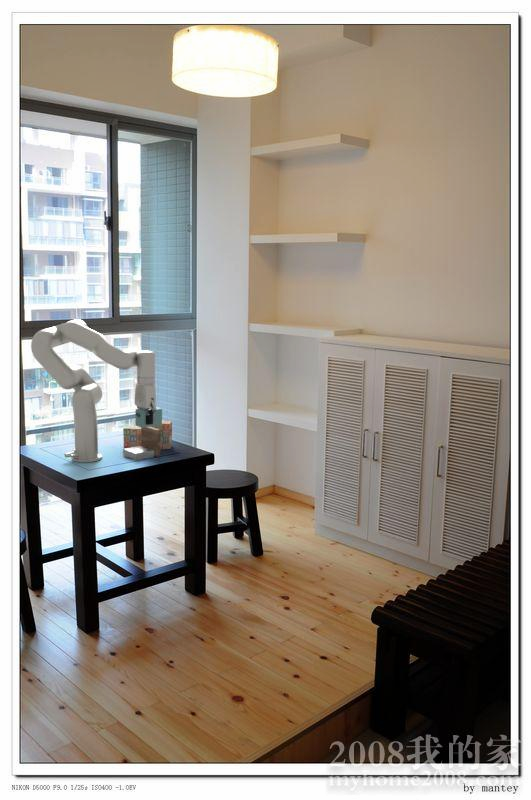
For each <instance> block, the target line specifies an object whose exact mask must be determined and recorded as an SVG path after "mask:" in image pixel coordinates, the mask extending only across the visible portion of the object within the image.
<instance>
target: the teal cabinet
mask: <svg viewBox="0 0 531 800" xmlns="http://www.w3.org/2000/svg"><path fill="white" fill-rule="evenodd" d="M149 408H150V407H149ZM156 408H157V409H156V410H155V412H154V415H153V424H149V425H147V424H146V415H147V412H146V409H144V408H141V409H138V408H136V409H135V425H134V426H139V427H141V428H143V427H150V426H157V425H162V420H163V408H161V407H159V406H156ZM150 410H151V409H149V411H150Z"/></svg>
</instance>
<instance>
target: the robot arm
mask: <svg viewBox="0 0 531 800" xmlns="http://www.w3.org/2000/svg"><path fill="white" fill-rule="evenodd" d="M69 343H72V344H75V345H76V346H78V347H81V348H83V349H84V350H86V351H89V352H91V353H93V354H94V355H95V356H96V357H97V358H99V359H100V360H101V361H103V362H104V363H106V364H109V365H110V366H112V367H115V368H117V369H119V370H124V371H125V370H130V369H131V368H134V367H136V384H135V390H134V405H135V406H136V409H141V408H144V409H146V412H147V415H146V424H147V425H149V424H153V415H154V412H155V410H156V409H157V408H156V407H157V394H156V353H155V352H154V351H153V350H152V351H151V350H137V349H132V348H128V349H125V350H122V349H120V348H117V347H116V346H114V345H112V344H111V343H109V342H108V341H107V340H106V338H105V336H104V335H103V334H102V333H100V332H97V331H96V330H94V329H91V328H89V327H88V325H87V323H86V322H85V321H84V320H82V319H78V318H77V319H72V320H69V321H67V322H65V323H61V324H58V325H55V326H52V327H47V328H43V329H40V330H38V331H37V332H36V333H34V335H33V337H32V340H31V342H30V349H31V353H32V355H33V357H34V359H35V360H36V361H37V363H39V364H40V366H42V368H43V369H44V370H45V371H46V372H47V374H48V375H49V376H50V377H51V378H52V379H53V380H54V381H55V382H56V383H57V384H58V386H59V387H61V388H62V389H63V390H72V389H73V390H74V392H73V394H72V397H71V405H72V411H73V425H74V426H73V427H74V448H72V451H70V452H65V453H64V457H65V458H66V459H67V458H71V460H72V461H73V462H76V463H83V464H84V463H93V462H99V461H100V460H102V458H103V456H102V454H101V453H99V445H98V443H99V441H98V440H99V439H98V437H99V436H98V413H97V408H96V405H97V404H98V403H99V402H100V401H101V400H102V398H103V390H102V388H101V387H100V384H98V383H97V382H96V381H95V380H94V379H93V377H92V376H91V375H90V374H89V373H88V372H87V371H86V369H84V367H82V366H80V365H78V364H69V363H68V362H66V360H65V359H64V358H63V357H62V355H59V354H58V352H56V351H55V350H54V348H56V347H59V346H62V345H66V344H69ZM149 407H150V408H149ZM149 409H151V410H150V411H149Z"/></svg>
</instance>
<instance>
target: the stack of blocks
mask: <svg viewBox="0 0 531 800" xmlns="http://www.w3.org/2000/svg"><path fill="white" fill-rule="evenodd" d="M151 427H154V428H157V429H160V450H164V449H170V450H171V449H172V447H173V421H172V420H166V419H165V420H163V419H162V425H157V426H151ZM122 430H123V449H126V448H131V447H136V446H141V427H139V426H136V425H125V426H124V427H123V429H122Z"/></svg>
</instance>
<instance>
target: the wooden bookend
mask: <svg viewBox="0 0 531 800" xmlns="http://www.w3.org/2000/svg"><path fill="white" fill-rule="evenodd" d="M122 450H123V451H122V452H123V453H122V455H123V457H126V458H128V459H131V460H133V459H134V461H140V460H139V459H141V460H145V459H144V458H146V459H150V457H151V458H155V457H154V456H156V458H158V456H159V457H161V449H160V429H157V428H154V427H151V426H150V427H143V428H141V446H136V447H131V448H123V449H122Z"/></svg>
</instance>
